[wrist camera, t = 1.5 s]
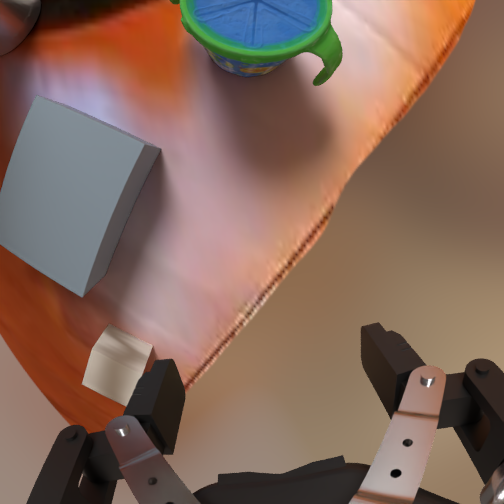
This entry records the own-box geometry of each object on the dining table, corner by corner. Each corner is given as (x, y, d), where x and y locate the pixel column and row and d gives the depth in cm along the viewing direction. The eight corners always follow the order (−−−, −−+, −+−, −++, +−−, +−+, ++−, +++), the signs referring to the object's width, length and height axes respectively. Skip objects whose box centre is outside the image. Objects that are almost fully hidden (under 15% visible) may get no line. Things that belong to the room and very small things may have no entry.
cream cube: (97, 357, 32) (81, 384, 27) (109, 322, 31) (92, 348, 26) (138, 377, 33) (127, 407, 28) (153, 345, 32) (142, 374, 27)
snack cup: (341, 62, 26) (387, 25, 16) (274, 132, 27) (298, 114, 18) (224, -23, 22) (225, -81, 12) (152, 40, 24) (123, -8, 14)
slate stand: (22, 225, 27) (-10, 237, 22) (66, 105, 25) (36, 95, 19) (105, 275, 30) (82, 297, 24) (161, 148, 27) (144, 144, 21)
